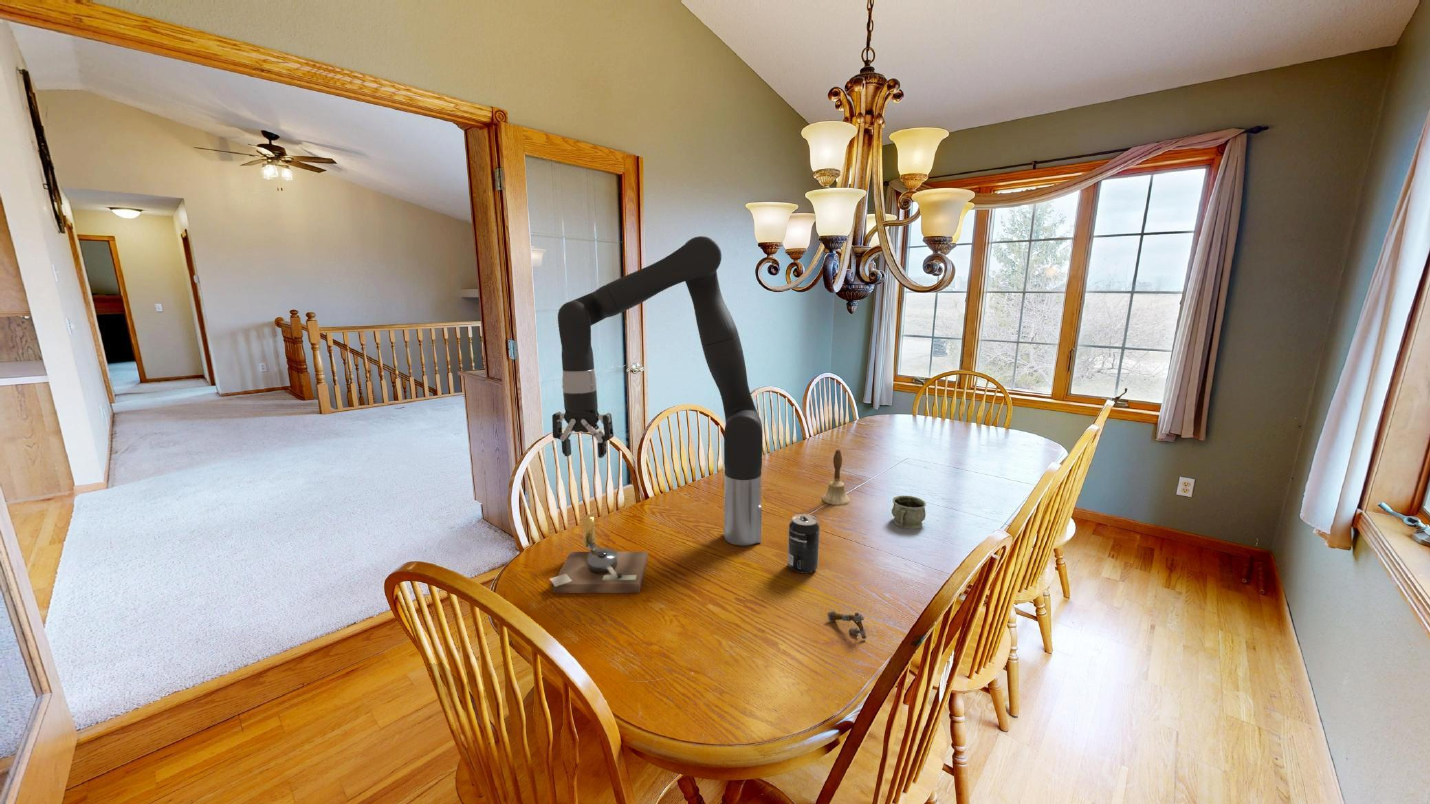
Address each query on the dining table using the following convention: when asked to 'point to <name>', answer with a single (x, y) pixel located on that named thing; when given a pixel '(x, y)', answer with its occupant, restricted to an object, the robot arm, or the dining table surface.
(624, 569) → the stand
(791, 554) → the beverage can
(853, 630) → the brown grey angled piece
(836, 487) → the hand bell
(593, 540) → the capstan
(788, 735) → the dining table surface
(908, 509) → the vessel
